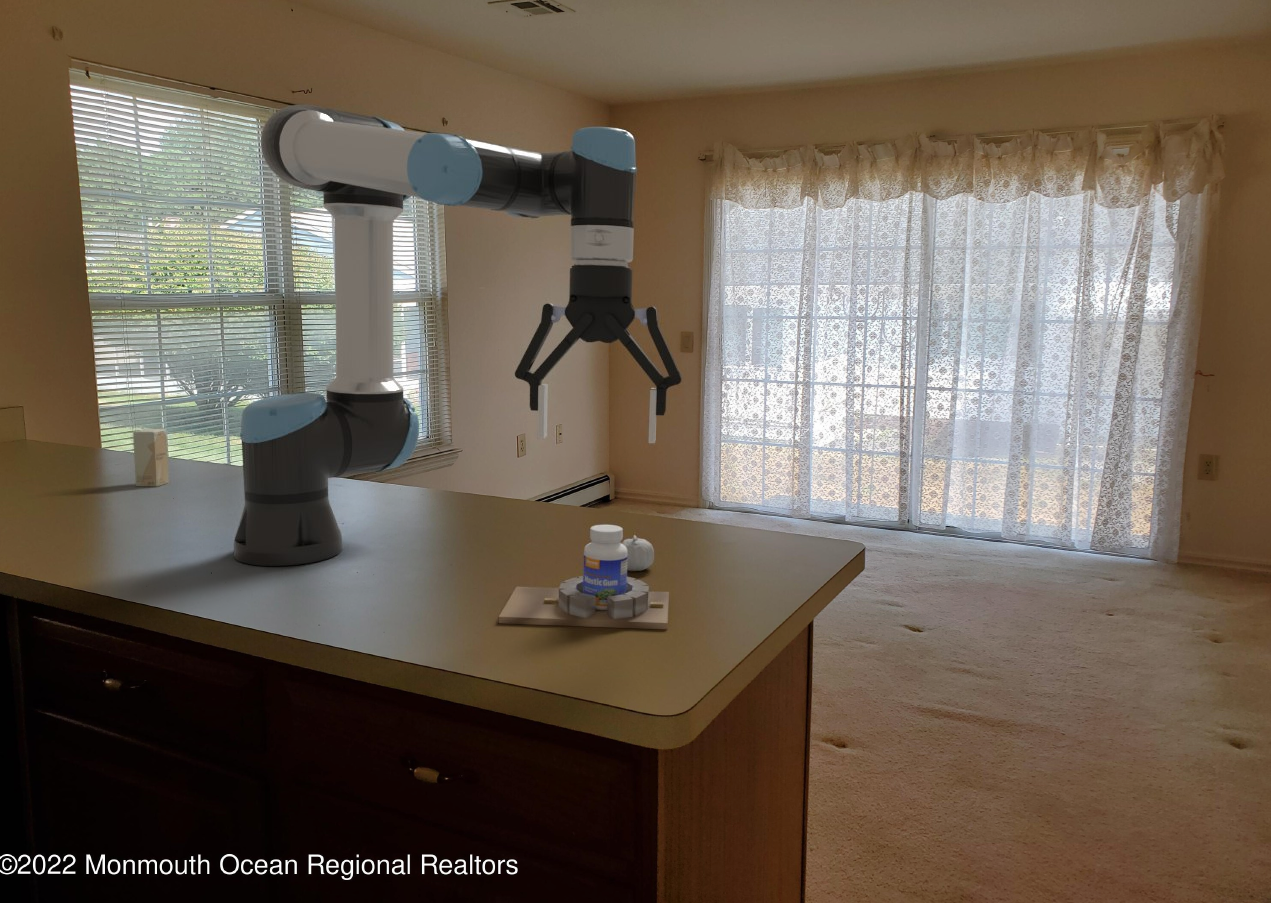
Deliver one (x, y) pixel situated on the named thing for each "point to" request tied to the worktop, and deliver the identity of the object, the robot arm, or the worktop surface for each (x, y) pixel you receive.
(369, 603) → the worktop surface
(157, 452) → the box
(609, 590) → the pill bottle
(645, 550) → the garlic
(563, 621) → the socket board
